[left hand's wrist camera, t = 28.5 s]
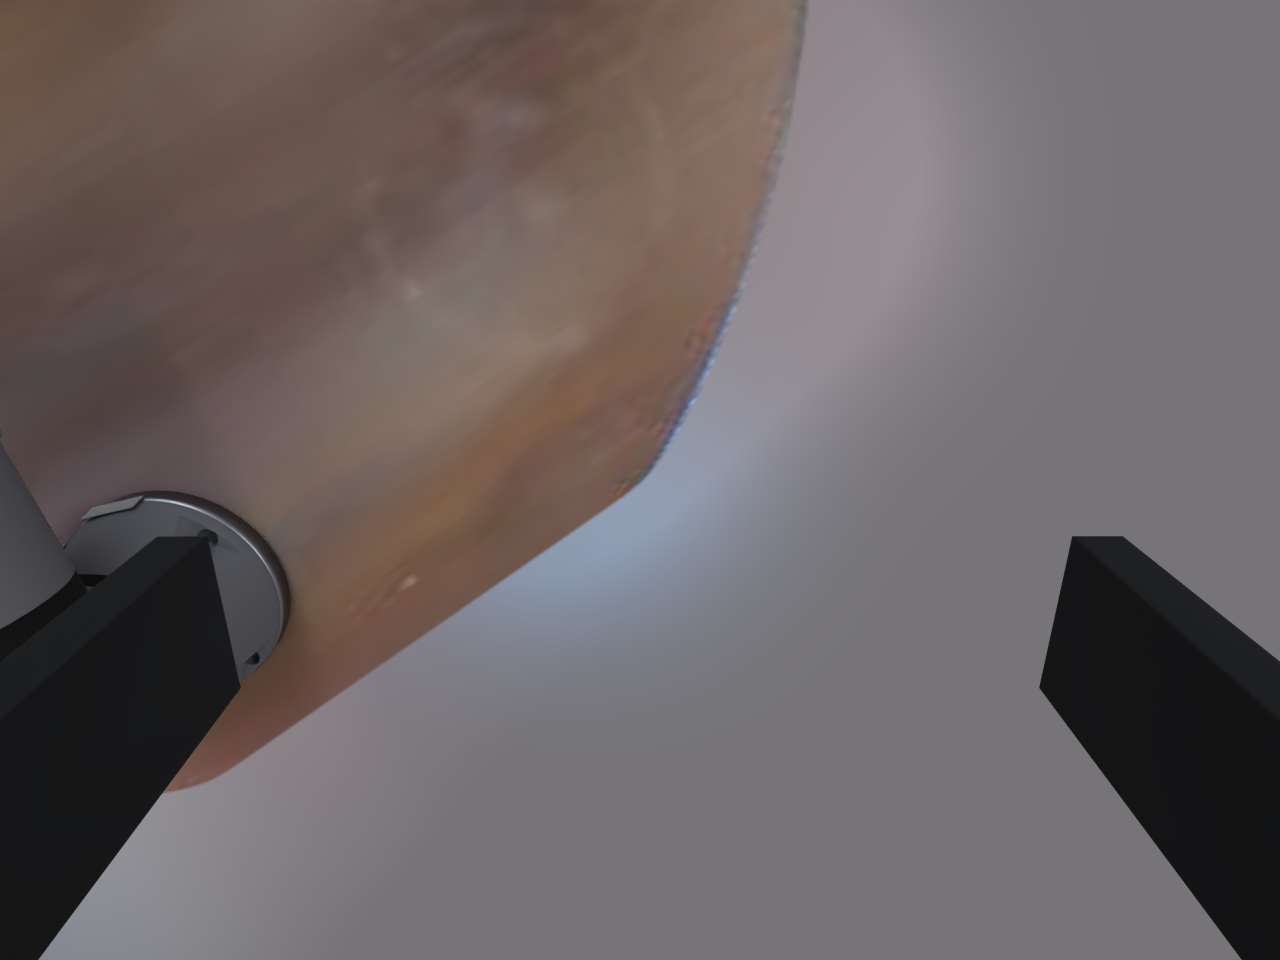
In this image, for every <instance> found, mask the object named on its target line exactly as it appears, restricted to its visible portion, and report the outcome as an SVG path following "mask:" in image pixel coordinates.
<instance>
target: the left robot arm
mask: <svg viewBox="0 0 1280 960" xmlns="http://www.w3.org/2000/svg"><path fill="white" fill-rule="evenodd" d="M1 436H2V434H1V431H0V437H1ZM84 518H86V519H85V520H84V521H83V522H82V523H80V524H79V525H78V526H77V528H76V529H75V530H74V531H73V532H72V534H71V535H70V536H69V537H68V539H67V540H66V542H65V543H64V545H63V547H62V546H61V544H60V542H59V541H58V539H57V537H56V535H55V534H54V532H53V530H52V529H51V527H50V525H49V524H48V522H47V520H46V519H45V517H44V515H43V514H42V512H41V510H40V508H39V507H38V505H37V503H36V502H35V500H34V498H33V497H32V495H31V493H30V492H29V490H28V488H27V487H26V485H25V483H24V481H23V480H22V478H21V476H20V475H19V473H18V471H17V470H16V468H15V466H14V465H13V463H12V461H11V460H10V458H9V456H8V454H7V453H6V451H5V449H4V448H3V446H2V444H1V443H0V960H38V959H39V958H40V957H41V955H42V954H43V953H44V951H45V950H46V949H47V947H48V946H49V944H50V943H51V942H52V941H53V939H54V938H55V937H56V935H57V934H58V932H59V931H60V930H61V928H62V927H63V926H64V924H65V923H66V922H67V920H68V919H69V918H70V916H71V915H72V914H73V912H74V911H75V910H76V908H77V907H78V906H79V904H80V903H81V902H82V900H83V899H84V898H85V896H86V895H87V893H88V892H89V891H90V890H91V888H92V887H93V885H94V884H95V883H96V881H97V880H98V879H99V877H100V876H101V875H102V873H103V872H104V871H105V869H106V868H107V867H108V865H109V864H110V863H111V861H112V860H113V859H114V857H115V856H116V855H117V853H118V852H119V851H120V849H121V848H122V847H123V845H124V844H125V842H126V841H127V840H128V838H129V837H130V836H131V834H132V833H133V832H134V830H135V829H136V828H137V826H138V825H139V824H140V822H141V821H142V820H143V818H144V817H145V816H146V814H147V813H148V812H149V810H150V809H151V808H152V806H153V805H154V804H155V802H156V801H157V800H158V798H159V797H160V795H161V794H162V793H163V791H164V790H165V789H166V787H167V786H168V785H169V783H170V782H171V781H172V779H173V778H174V777H175V775H176V774H177V773H178V771H179V770H180V769H181V767H182V766H183V765H184V763H185V762H186V761H187V759H188V758H189V757H190V755H191V754H192V753H193V751H194V750H195V748H196V747H197V746H198V744H199V743H200V742H201V740H202V739H203V738H204V736H205V735H206V734H207V732H208V731H209V730H210V728H211V727H212V726H213V724H214V723H215V722H216V720H217V719H218V718H219V716H220V715H221V714H222V712H223V711H224V710H225V708H226V707H227V706H228V704H229V703H230V701H231V700H232V699H233V697H234V696H235V695H236V693H237V692H238V691H239V689H240V688H241V687H240V681H241V680H243V679H244V678H246V677H247V676H248V675H250V674H251V673H252V672H254V671H255V670H256V669H258V668H259V667H260V666H261V665H262V664H263V663H264V661H265V660H266V659H267V658H268V656H269V655H270V654H271V652H272V651H273V650H274V648H275V647H276V646H277V644H278V643H279V641H280V639H281V638H282V636H283V634H284V631H285V629H286V626H287V623H288V618H289V613H290V595H289V588H288V584H287V580H286V577H285V574H284V571H283V569H282V567H281V565H280V563H279V561H278V559H277V557H276V555H275V554H274V552H273V551H272V549H271V548H270V547H269V545H268V544H267V543H266V541H265V540H264V539H263V538H262V537H261V536H260V535H259V534H258V533H257V532H256V531H255V530H254V529H253V528H252V527H251V526H250V525H249V524H247V523H246V522H245V521H244V520H242V519H241V518H240V517H238V516H237V515H235V514H234V513H232V512H231V511H229V510H227V509H225V508H224V507H222V506H220V505H217V504H215V503H213V502H211V501H208V500H205V499H203V498H200V497H196V496H193V495H189V494H184V493H179V492H171V491H147V492H140V493H135V494H131V495H127V496H124V497H122V498H119V499H116V500H114V501H113V502H111V503H109V504H105V505H100V506H96V507H92V508H91V509H90V510H89V511H88V512H87V513H86V514H85V515H84V516H83V517H82V518H81V519H84ZM1039 688H1040V689H1041V691H1042V692H1043V693H1044V695H1045V696H1046V697H1047V699H1048V700H1049V701H1050V703H1051V704H1052V706H1053V707H1054V708H1055V710H1056V711H1057V712H1058V714H1059V715H1060V716H1061V718H1062V719H1063V720H1064V722H1065V723H1066V724H1067V726H1068V727H1069V728H1070V730H1071V731H1072V732H1073V734H1074V735H1075V736H1076V738H1077V739H1078V740H1079V742H1080V743H1081V744H1082V746H1083V747H1084V748H1085V750H1086V751H1087V753H1088V754H1089V755H1090V756H1091V758H1092V759H1093V760H1094V762H1095V763H1096V765H1097V766H1098V767H1099V769H1100V770H1101V771H1102V773H1103V774H1104V775H1105V777H1106V778H1107V779H1108V781H1109V782H1110V783H1111V785H1112V786H1113V787H1114V789H1115V790H1116V791H1117V793H1118V794H1119V795H1120V797H1121V798H1122V799H1123V801H1124V802H1125V803H1126V805H1127V806H1128V808H1129V809H1130V810H1131V812H1132V813H1133V814H1134V816H1135V817H1136V818H1137V820H1138V821H1139V822H1140V824H1141V825H1142V826H1143V828H1144V829H1145V830H1146V832H1147V833H1148V834H1149V836H1150V837H1151V838H1152V840H1153V841H1154V842H1155V844H1156V845H1157V846H1158V848H1159V849H1160V851H1161V852H1162V853H1163V855H1164V856H1165V857H1166V859H1167V860H1168V861H1169V863H1170V864H1171V865H1172V867H1173V868H1174V869H1175V871H1176V872H1177V873H1178V875H1179V876H1180V877H1181V879H1182V880H1183V881H1184V883H1185V884H1186V885H1187V887H1188V888H1189V890H1190V891H1191V892H1192V893H1193V895H1194V896H1195V897H1196V899H1197V900H1198V902H1199V903H1200V904H1201V906H1202V907H1203V908H1204V910H1205V911H1206V912H1207V914H1208V915H1209V916H1210V918H1211V919H1212V920H1213V922H1214V923H1215V924H1216V926H1217V927H1218V928H1219V930H1220V931H1221V932H1222V934H1223V935H1224V937H1225V938H1226V939H1227V941H1228V942H1229V943H1230V945H1231V946H1232V947H1233V949H1234V950H1235V951H1236V953H1237V954H1238V955H1239V957H1240V958H1241V959H1242V960H1280V661H1278V660H1277V659H1276V658H1275V657H1273V656H1272V655H1271V654H1270V653H1268V652H1267V651H1266V650H1265V649H1263V648H1262V647H1261V646H1260V645H1258V644H1257V643H1256V642H1255V641H1253V640H1252V639H1251V638H1250V637H1248V636H1247V635H1246V634H1245V633H1243V632H1242V631H1241V630H1240V629H1238V628H1237V627H1236V626H1235V625H1233V624H1232V623H1231V622H1229V621H1228V620H1227V619H1226V618H1224V617H1223V616H1222V615H1221V614H1219V613H1218V612H1217V611H1216V610H1214V609H1213V608H1212V607H1211V606H1209V605H1208V604H1207V603H1206V602H1204V601H1203V600H1202V599H1201V598H1199V597H1198V596H1197V595H1196V594H1194V593H1193V592H1192V591H1191V590H1189V589H1188V588H1187V587H1186V586H1184V585H1183V584H1182V583H1181V582H1179V581H1178V580H1177V579H1176V578H1174V577H1173V576H1172V575H1171V574H1169V573H1168V572H1167V571H1166V570H1164V569H1163V568H1162V567H1160V566H1159V565H1158V564H1157V563H1155V562H1154V561H1153V560H1152V559H1150V558H1149V557H1148V556H1147V555H1145V554H1144V553H1143V552H1142V551H1140V550H1139V549H1138V548H1137V547H1135V546H1134V545H1133V544H1132V543H1130V542H1129V541H1128V540H1127V539H1125V538H1124V537H1123V536H1072V540H1071V545H1070V549H1069V554H1068V559H1067V563H1066V568H1065V572H1064V577H1063V582H1062V586H1061V591H1060V595H1059V600H1058V604H1057V609H1056V613H1055V618H1054V623H1053V627H1052V632H1051V636H1050V641H1049V646H1048V650H1047V655H1046V659H1045V664H1044V669H1043V673H1042V678H1041V682H1040V687H1039Z"/></svg>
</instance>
